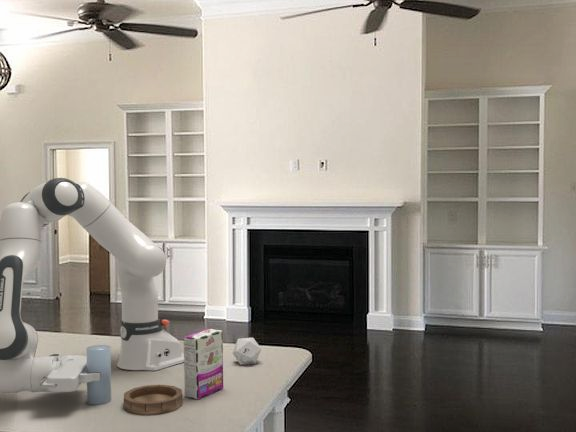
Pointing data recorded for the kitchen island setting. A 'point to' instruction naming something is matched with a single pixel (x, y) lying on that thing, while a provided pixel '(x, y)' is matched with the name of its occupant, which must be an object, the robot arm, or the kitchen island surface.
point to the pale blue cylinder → (100, 363)
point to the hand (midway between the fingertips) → (102, 372)
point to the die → (246, 351)
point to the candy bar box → (203, 363)
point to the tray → (152, 399)
